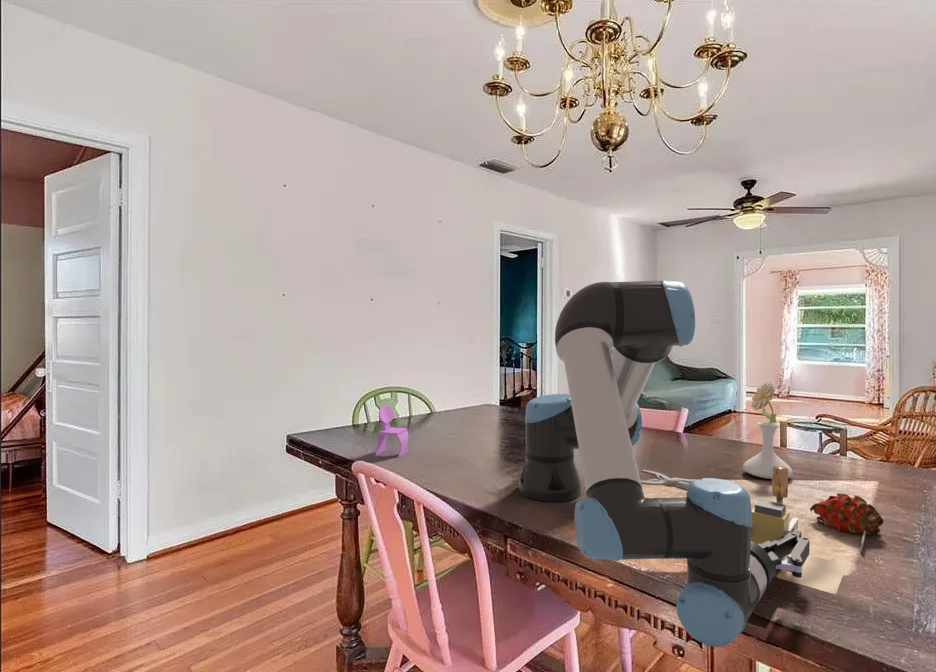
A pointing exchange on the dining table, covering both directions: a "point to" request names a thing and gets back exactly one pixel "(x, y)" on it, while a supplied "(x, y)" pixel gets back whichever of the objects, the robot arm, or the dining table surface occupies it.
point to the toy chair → (390, 431)
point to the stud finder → (769, 522)
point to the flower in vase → (765, 438)
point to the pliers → (667, 480)
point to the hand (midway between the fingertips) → (776, 521)
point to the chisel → (780, 483)
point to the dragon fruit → (848, 514)
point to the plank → (817, 574)
